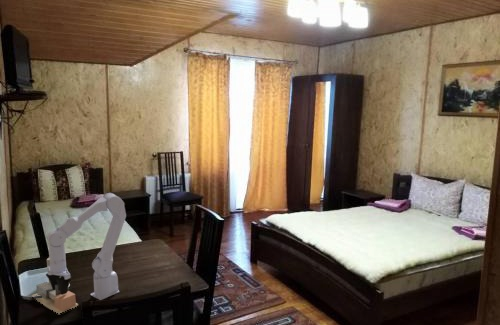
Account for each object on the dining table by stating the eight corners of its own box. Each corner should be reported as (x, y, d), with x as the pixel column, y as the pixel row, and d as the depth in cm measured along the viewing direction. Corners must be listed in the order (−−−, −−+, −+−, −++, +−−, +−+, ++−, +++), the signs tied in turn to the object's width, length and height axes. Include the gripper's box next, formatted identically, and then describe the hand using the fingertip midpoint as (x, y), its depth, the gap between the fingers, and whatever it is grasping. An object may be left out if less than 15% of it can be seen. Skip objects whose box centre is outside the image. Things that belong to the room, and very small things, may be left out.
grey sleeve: (47, 290, 166) (46, 281, 165) (56, 296, 161) (55, 286, 160) (37, 294, 162) (36, 285, 162) (46, 299, 158) (45, 290, 157)
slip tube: (51, 293, 162) (49, 277, 161) (69, 303, 153) (68, 286, 152) (45, 295, 160) (44, 279, 159) (63, 305, 151) (62, 289, 150)
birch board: (50, 290, 168) (50, 288, 168) (78, 306, 154) (78, 304, 154) (31, 297, 162) (31, 295, 161) (58, 314, 148) (58, 312, 148)
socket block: (69, 301, 156) (68, 290, 156) (75, 305, 153) (75, 294, 153) (54, 307, 152) (54, 296, 151) (61, 311, 149) (60, 300, 148)
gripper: (38, 258, 153) (41, 290, 155) (56, 266, 145) (59, 300, 147) (56, 253, 159) (58, 283, 161) (74, 261, 150) (76, 293, 152)
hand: (59, 291), depth 154 cm, fingers open, 6 cm apart
